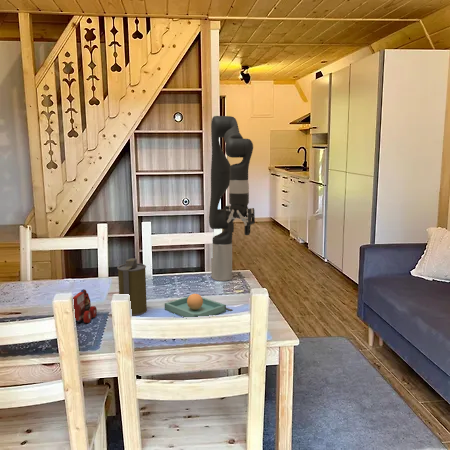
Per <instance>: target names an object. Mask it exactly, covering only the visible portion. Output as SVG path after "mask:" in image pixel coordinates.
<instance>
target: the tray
mask: <svg viewBox="0 0 450 450" xmlns="http://www.w3.org/2000/svg"><path fill="white" fill-rule="evenodd" d="M189 296H190V295H189ZM189 296H186V297H182V298H178V299H174V300H172V301H168V302H165V303H164V310H165V311H167V312H170V313H172V314H174V313H175V314H174V315H176V316H179V317H182V316H183V317H182V318H184V317H198V316H209V315H215V316H217V314H218V315H220V314H223V313H226V312H227V310H226V308H227V305H226V304H224V303H221V302H219V301H214V300H211V299H208V298H205V297H203V296H201V297H202V299H203V304H202V306H201V308H199V309H197V310H193V309H191V308H189V307H188V305H187V299H188V297H189ZM219 313H220V314H219Z"/></svg>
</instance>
